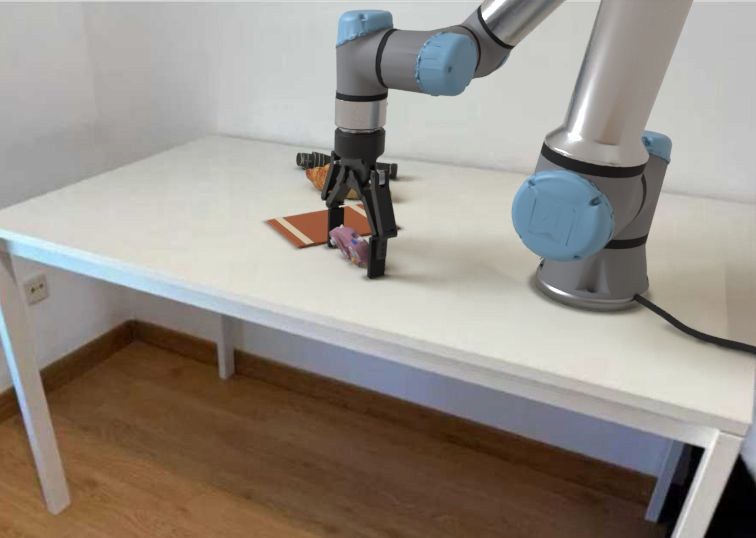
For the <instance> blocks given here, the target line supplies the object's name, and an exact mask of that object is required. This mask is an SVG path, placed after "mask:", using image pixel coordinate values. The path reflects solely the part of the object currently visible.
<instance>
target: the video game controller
mask: <svg viewBox="0 0 756 538" xmlns="http://www.w3.org/2000/svg"><path fill="white" fill-rule="evenodd" d="M329 234H330V237H331V239H332V240H331V239H330V242H331V244H332V245H334V246H333V247H337V248H338V249H339V250H340V252H341V253H342V255H343V256H344V257H345V258H346V259H347V260H349V259H351V262H352V263H353V264H355V265H356V266H357V267H359V266H361V265H362V264H365V265H366V266H368V249H369V241H367V240H366V239H365V238H363V236H360V234H359V233H358V231H357V230H356V229H353V228H351V227H344V226H343V225H341V226H340V227H336V228H335V229H333V230H332V231H330V232H329ZM335 244H336V245H337V246H335Z"/></svg>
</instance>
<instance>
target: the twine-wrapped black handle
mask: <svg viewBox="0 0 756 538" xmlns="http://www.w3.org/2000/svg"><path fill="white" fill-rule="evenodd" d="M330 159H331V155H329V154H326V153H324V152H323V153H321V152H318V151H313V150H312V151H311V153H308V152H297V154H296V157H295V163H296V166H297V167H302V168H307V169H314V168H315V167H324V166H326V165H327V164H328V163H330ZM376 163H377V169H378V170H385V169H387V170H388V171H389V180H396V179H397V177H398V170H399V169H398V168H399V164H398V163H397V162H392V163H387V162H382V161H381V162H380V161H376Z"/></svg>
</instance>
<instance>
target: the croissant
mask: <svg viewBox="0 0 756 538" xmlns="http://www.w3.org/2000/svg"><path fill="white" fill-rule="evenodd" d="M329 166H330V163H328V164H327V165H326V166H324V167H315V168H314V169H310V168H307V169H305V177H306V179H308V180H309V182H311V184H312V185H313V186H314V188H316V189H317V190H318V191H321V192H322V190H323V186H324V183H325V179H326V176H327V172H328V169H329ZM370 189H371V187H370ZM329 192H332V191H329ZM329 192H328V193H329ZM390 193H391V195H392V190H390ZM345 199H359V200H361V199H360V198H358V196H357V193H356V192H355V191H354V190H353V189H352V188H351V190H350V192H349V193H348V195H347V197H346V198H345Z"/></svg>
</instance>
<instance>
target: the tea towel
mask: <svg viewBox="0 0 756 538" xmlns="http://www.w3.org/2000/svg"><path fill="white" fill-rule="evenodd" d="M342 207H343V208H344V227H351V228H353V229H356V230H357V231H358V233H359V234H360V236H361V237H364V236H365V237H366V236H369V235H372V232H371V229H370V226H369V223H368V219H367V216H366V213H365V210H364V206H363V203H358V204H355V203H354V204H348V205H347V206H342ZM267 224H269V225H270V226H271V227H273V228H274V229H275V230H276V231H278V232H279V233H280V234H281V235H282V236H283V237H285V238H286V239H287V240H288V241H289V242H290V243H292V244H293V245H294V246H295V247H296V248H298V249H301V248H308V247H312V246H318V245H323V244H327V232H328V209H323V210H317V211H312V212H311V211H310V212H307V213H301V214H294V215H290V216H284V217H282V216H280V217H275V218H272V219H267ZM396 227H397V230H399V229H400V226H398V225H397V224H396Z"/></svg>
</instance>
